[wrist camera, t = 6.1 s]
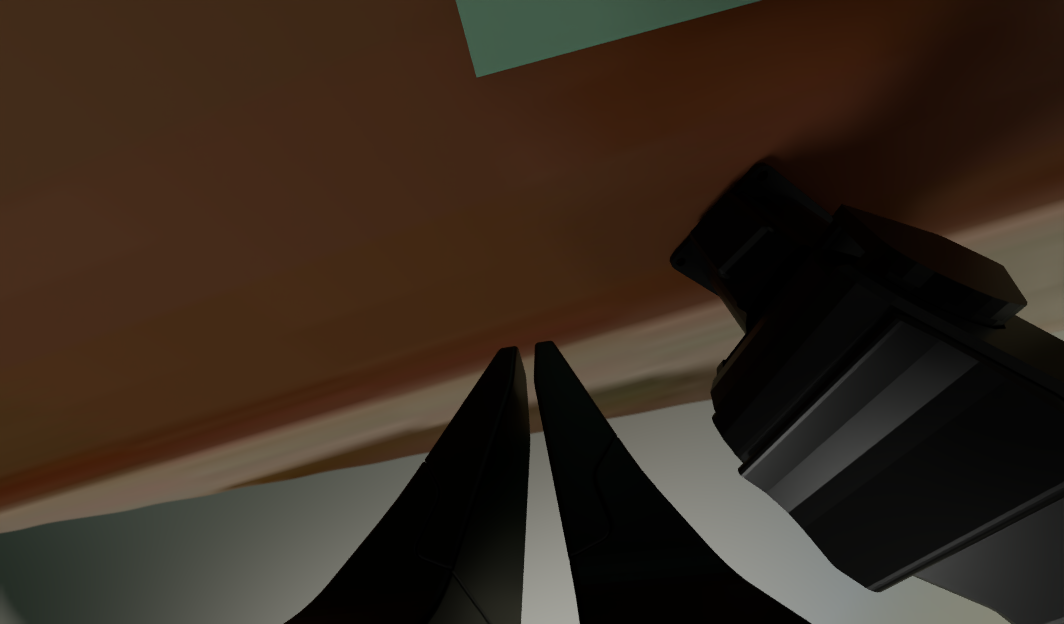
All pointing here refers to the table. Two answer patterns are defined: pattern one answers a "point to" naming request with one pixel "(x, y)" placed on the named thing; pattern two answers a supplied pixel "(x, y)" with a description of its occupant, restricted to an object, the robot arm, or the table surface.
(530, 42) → the circuit board
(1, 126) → the table surface
